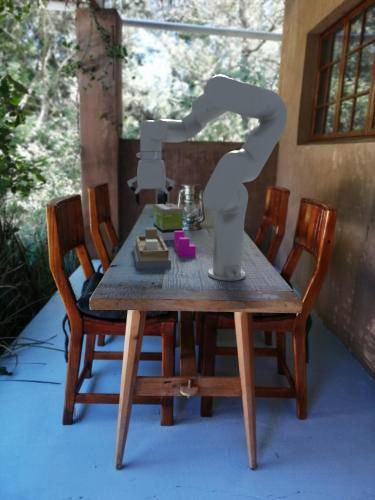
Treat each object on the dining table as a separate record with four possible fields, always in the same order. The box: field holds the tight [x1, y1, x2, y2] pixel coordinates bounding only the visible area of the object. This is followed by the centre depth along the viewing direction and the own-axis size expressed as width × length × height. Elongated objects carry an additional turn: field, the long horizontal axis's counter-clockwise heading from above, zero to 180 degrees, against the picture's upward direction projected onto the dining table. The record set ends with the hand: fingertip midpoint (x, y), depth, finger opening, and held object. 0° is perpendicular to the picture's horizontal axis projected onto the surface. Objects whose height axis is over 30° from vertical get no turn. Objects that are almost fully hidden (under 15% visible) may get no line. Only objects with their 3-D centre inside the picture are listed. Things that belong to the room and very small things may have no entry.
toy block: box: [173, 230, 197, 258], centre depth 164 cm, size 15×6×8 cm, turn 10°
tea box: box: [152, 203, 184, 242], centre depth 189 cm, size 15×10×15 cm, turn 21°
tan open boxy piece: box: [135, 226, 170, 261], centre depth 151 cm, size 24×10×9 cm, turn 11°
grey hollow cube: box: [155, 189, 170, 204], centre depth 251 cm, size 14×16×15 cm
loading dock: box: [132, 242, 172, 270], centre depth 153 cm, size 26×12×3 cm, turn 11°
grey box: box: [145, 239, 158, 251], centre depth 145 cm, size 4×4×4 cm
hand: (151, 204), depth 148 cm, fingers open, 9 cm apart
